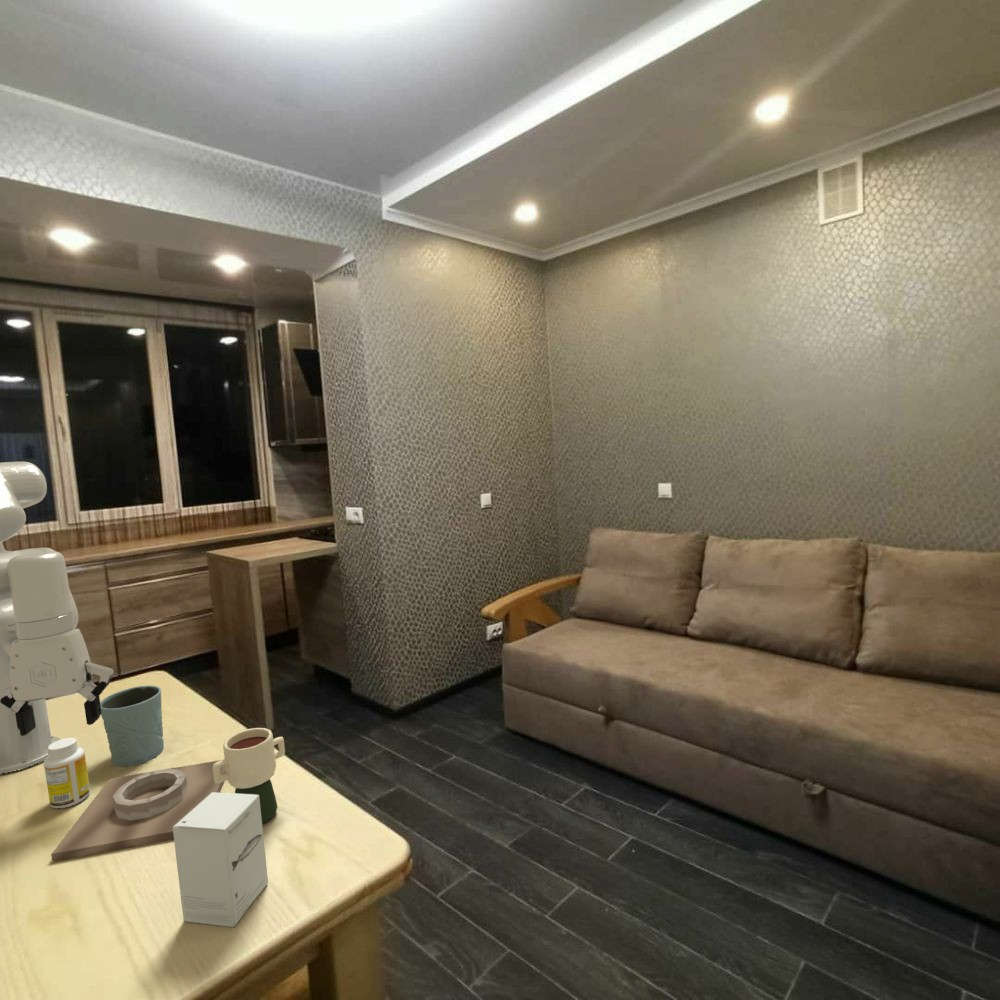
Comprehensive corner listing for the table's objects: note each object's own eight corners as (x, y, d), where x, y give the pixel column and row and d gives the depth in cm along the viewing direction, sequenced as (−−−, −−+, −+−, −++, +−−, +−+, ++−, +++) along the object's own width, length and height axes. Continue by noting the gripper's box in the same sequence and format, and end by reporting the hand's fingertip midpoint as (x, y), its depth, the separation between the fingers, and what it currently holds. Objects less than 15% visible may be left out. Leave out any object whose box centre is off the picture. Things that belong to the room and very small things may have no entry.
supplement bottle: (84, 786, 104) (77, 731, 103) (94, 797, 100) (86, 740, 99) (46, 802, 100) (37, 745, 99) (55, 814, 96) (46, 755, 95)
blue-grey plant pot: (172, 737, 120) (166, 681, 119) (161, 762, 111) (154, 701, 110) (116, 748, 117) (108, 691, 116) (99, 775, 108) (90, 712, 106)
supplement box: (235, 929, 71) (223, 830, 69) (181, 922, 72) (169, 826, 71) (270, 883, 78) (260, 793, 76) (221, 878, 79) (211, 789, 78)
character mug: (280, 792, 98) (272, 718, 97) (300, 809, 93) (292, 731, 92) (212, 824, 91) (202, 745, 90) (229, 845, 86) (219, 761, 84)
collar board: (52, 861, 85) (48, 837, 84) (110, 784, 104) (108, 765, 104) (202, 833, 89) (199, 810, 89) (231, 764, 108) (229, 745, 108)
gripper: (-30, 641, 91) (-13, 747, 93) (94, 625, 95) (109, 727, 96) (-1, 628, 99) (15, 726, 100) (114, 613, 102) (127, 708, 104)
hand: (61, 726), depth 98 cm, fingers open, 9 cm apart
